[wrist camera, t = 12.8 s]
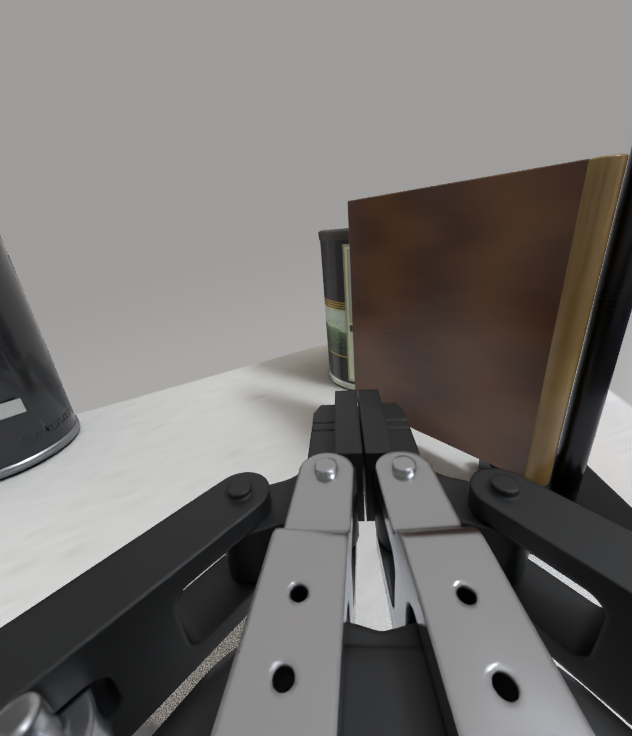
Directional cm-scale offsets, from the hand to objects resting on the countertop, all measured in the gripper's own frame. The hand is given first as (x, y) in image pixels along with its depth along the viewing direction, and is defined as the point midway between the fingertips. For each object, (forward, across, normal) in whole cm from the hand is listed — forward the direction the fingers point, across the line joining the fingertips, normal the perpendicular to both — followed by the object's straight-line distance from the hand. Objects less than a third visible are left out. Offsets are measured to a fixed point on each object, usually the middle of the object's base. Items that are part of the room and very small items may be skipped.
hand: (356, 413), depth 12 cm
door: (+8, -5, +6) cm, 11 cm away
